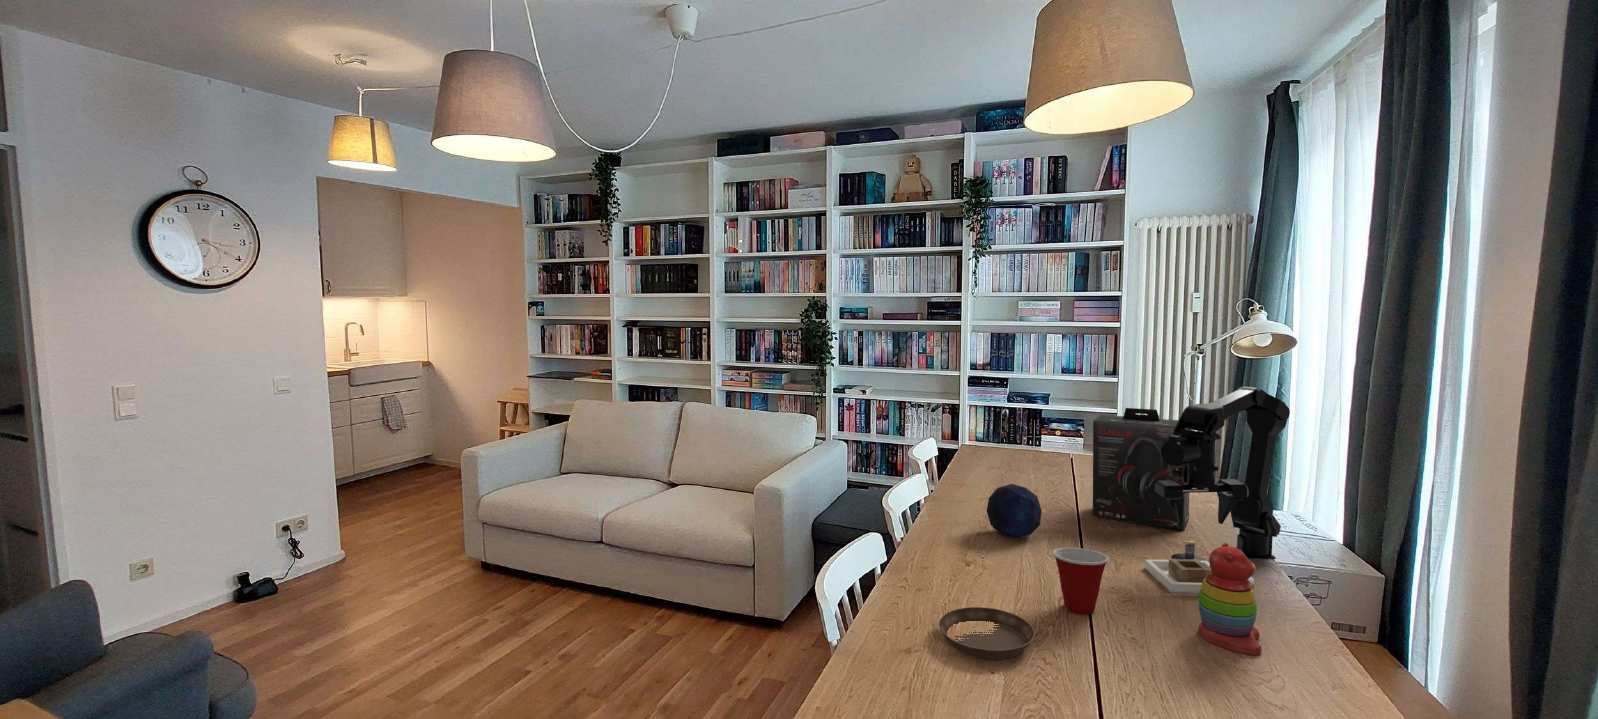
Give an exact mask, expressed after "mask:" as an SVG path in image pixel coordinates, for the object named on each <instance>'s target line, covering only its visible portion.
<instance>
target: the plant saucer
mask: <svg viewBox="0 0 1598 719" xmlns="http://www.w3.org/2000/svg"><path fill="white" fill-rule="evenodd" d="M966 621H986V622H987V621H988V622H989V621H990V622H994V624H999V625H994V626H998V627H993V628H994V629H997V630H993V631H994V632H990V633H993V634H982V633H983V632H978V633H981V634H970V635H969V634H968V635H967V634H963V635H964V636H955V637H957V638H958V637H960V638H961V637H962V638H965V639H961V640H962V641H960V640H959V641H955V640H958V639H955V640H953V639H951V638H950V637H948V636H947V631H948V629H949V628H950V627H951V626H953V624H958V623H959V622H966ZM999 626H1000V627H999ZM938 627H939V630H940V632H941V634H942V635H943V637H944V639H946V640H947V642H948V643H949V644H950V645H951V646H952V645H953V646H952V647H954V649H956V650H957V651H959V650H960V651H959V652H961V651H962V653H963V652H964V654H966V655H968V654H969V656H971V655H972V656H971V657H976V658H979V659H985V658H987V660H1004V659H1009V658H1013V657H1015V656H1017V655H1019V654H1021V653H1022V652H1023V651H1025V650H1027V648H1028V647H1029V646H1030V645H1031V643H1032V642H1033V640H1034V638H1035V635H1036V634H1035V633H1036V632H1035V629H1034V627H1033V626H1032V625H1031V623H1029V622H1028V621H1027V620H1026V619H1025V618H1022V617H1021V616H1019V615H1017V614H1014V613H1013V612H1012V613H1011V612H1009V611H1006V610H1002V609H997V608H991V607H981V606H980V607H978V606H977V607H975V606H973V607H972V606H970V607H962V608H957V609H953V610H950V611H948V612H946V613H945V614H944V615H942V616H941V617H940V619H939V621H938ZM973 628H974V627H973ZM975 631H976V630H975ZM987 631H988V630H987ZM989 631H990V630H989ZM991 631H992V630H991ZM969 633H970V632H969ZM971 633H972V632H971ZM973 633H977V632H973ZM984 633H985V632H984ZM986 633H987V632H986ZM988 633H989V632H988ZM965 635H966V636H965ZM981 635H982V636H981ZM983 635H984V636H983ZM967 638H969V639H967ZM963 640H964V641H963Z"/></svg>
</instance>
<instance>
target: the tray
mask: <svg viewBox="0 0 1598 719" xmlns="http://www.w3.org/2000/svg"><path fill="white" fill-rule="evenodd" d="M1207 561H1208V560H1207ZM1207 561H1200V562H1202V563H1203V564H1204V565H1206V566H1207V567H1208V568H1210V564H1209V561H1208V562H1207ZM1210 569H1211V568H1210ZM1144 570H1146V571H1147V572H1148V573H1149V574H1150V575H1152V577H1153V578H1154V579H1156V580H1157V582H1159V583H1160V584H1161V585H1162V586H1163V587H1164V588H1165V589H1166V590H1167V591H1168V592H1169V593H1170V595H1173V596H1174V595H1175V596H1176V595H1177V596H1180V595H1182V596H1199V592H1200V589H1201V586H1202V583H1189V582H1178V581H1177V580H1175V579H1174V578H1173V577H1172V576H1171V575H1170V574H1169V559H1144Z"/></svg>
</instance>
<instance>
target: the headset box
mask: <svg viewBox="0 0 1598 719" xmlns="http://www.w3.org/2000/svg"><path fill="white" fill-rule="evenodd" d="M1178 421H1179V419H1164V418H1160V415H1159V413H1158V410H1157V409H1154V408H1153V409H1151V408H1135V407H1125V409H1124V413H1123V416H1122V415H1111V414H1110V415H1107V414H1100V415H1099V416H1097V418H1095V419H1094V420H1093V421H1092V517H1094V516H1096V518H1100V519H1101V518H1103V519H1109V520H1115V521H1121V522H1122V521H1123V522H1127V523H1133V524H1134V523H1135V524H1140V525H1148V526H1154V527H1161V528H1165V529H1174V530H1181V531H1183V530H1185V528H1186V526H1187V524H1188V522H1189V520H1190V493H1183V495H1182V496H1181V497H1180V498H1182V499H1184V508H1183V521H1182V525H1180V524H1178V522H1177V519H1176V516H1175V514H1174V511H1173V509H1172V506H1171V504H1170V502H1169V501H1168V499H1166V498H1164V497H1163V496H1161V495H1160V494H1158V493H1156V492H1155V484H1156V482H1157V481H1165V480H1172V481H1174V482H1176V483H1178V484H1179V485H1186V484H1187V483H1183V482H1182V481H1176V477H1169V476H1168V472H1167V468H1168V464H1167V463H1166V462H1165V461H1164V460H1163V458H1162V456H1161V448H1162V446H1163V444H1164V443H1165V442H1168V441H1169V436H1172V435H1174V434H1173V432H1174V429H1175V427H1176V425H1177V423H1178ZM1186 429H1187V428H1186ZM1187 430H1190V429H1187ZM1174 436H1176V435H1174ZM1178 466H1179V467H1183V466H1184V464H1182V465H1178Z"/></svg>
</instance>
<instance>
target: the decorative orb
mask: <svg viewBox="0 0 1598 719" xmlns="http://www.w3.org/2000/svg"><path fill="white" fill-rule="evenodd" d="M986 507H987V508H986V513H987V517H988V521H989V524H990V526H991V527H992V528H993V529H994V530H995V531H997V532H998V533H999V534H1000V535H1001V536H1005V537H1009V538H1011V537H1012V539H1014V538H1018V539H1020V538H1021V537H1022V538H1025V537H1027V536H1031V535H1032V534H1033V533H1034V532H1035V531H1036V530H1037V529H1038V528H1039V527H1040V525H1041V520H1042V519H1041V518H1042V510H1043V509H1042V507H1041V504H1040V500H1039V498H1038V496H1037V495H1036V494H1034V492H1032V491H1031V490H1030V489H1029V488H1027V487H1025V486H1023V485H1022V486H1021V485H1017V484H1014V483H1010V484H1006V485H1003V486H1000V487H997V488H996V489H995V490H994V491H993V492H992V493H991V495H990V496H989V497H988V501H987V506H986ZM1022 538H1021V539H1022Z"/></svg>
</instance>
